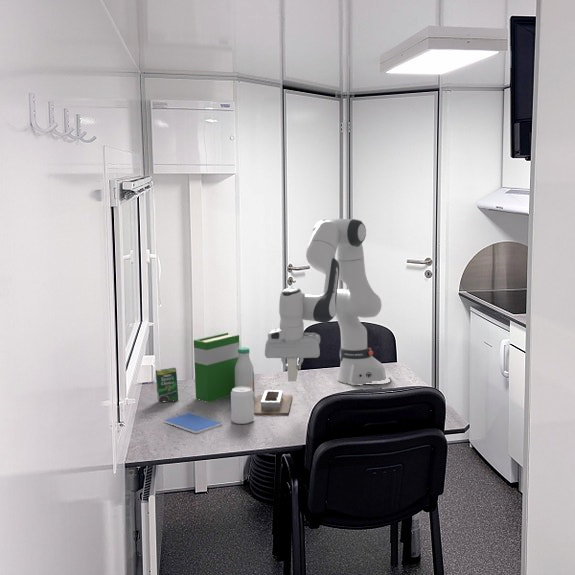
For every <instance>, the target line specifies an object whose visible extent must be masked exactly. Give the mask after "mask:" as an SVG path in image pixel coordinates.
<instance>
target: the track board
mask: <svg viewBox="0 0 575 575" xmlns="http://www.w3.org/2000/svg"><path fill="white" fill-rule="evenodd" d="M263 395H264V394H257V395H256V398H255V399H254V416H289V413H290V411H291V410H290V409H291V404H292V399H293V395H291V394H283V399H282V403H281V407H280V410H261V400H262V397H263ZM267 401H277V399H268V400H267Z"/></svg>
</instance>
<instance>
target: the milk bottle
mask: <svg viewBox="0 0 575 575" xmlns="http://www.w3.org/2000/svg"><path fill="white" fill-rule="evenodd" d="M238 354H239V357H238V360H237V363H236V365H235V387H241V386H246V387H250V388H252V391H253V398H254V397H255V371H254V364H253V362H252V360H251V358H250V348H249V347H245V346H244V347H240V348H238Z"/></svg>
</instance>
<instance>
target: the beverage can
mask: <svg viewBox="0 0 575 575" xmlns="http://www.w3.org/2000/svg"><path fill="white" fill-rule="evenodd" d="M254 403H255V399H254V397H253V391H252V388H250V387H246V386H241V387H235V388H233V389H232V392H231V395H230V407H231V408H230V411H231V422H232V423H235V424H237V425H246V423H247V424H250V423H251V422H253V421H254V420H255V415H254ZM249 422H250V423H249Z"/></svg>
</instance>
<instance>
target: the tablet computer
mask: <svg viewBox="0 0 575 575" xmlns="http://www.w3.org/2000/svg"><path fill="white" fill-rule="evenodd" d="M163 422H166V423H168V424H167V425H169V424H171V425H170V426H172V425H174V427H175V426H176V427H175V428H178V427H179V429H181V430H185V431H187V432H190V433H192V434H197V433H198V434H200V433H204V432H207V431H210V430H213V429H216V428H219V427H221V426H222V425H223V423H222V422H220V421H216V420H213V419H209V418H207V417H203V416H200V415H198V414H195V413H191V412H187V413H183V414H181V415H177V416H173V417H170V418H167V419H164V420H163ZM166 423H165V424H166ZM198 434H197V435H198Z"/></svg>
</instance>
